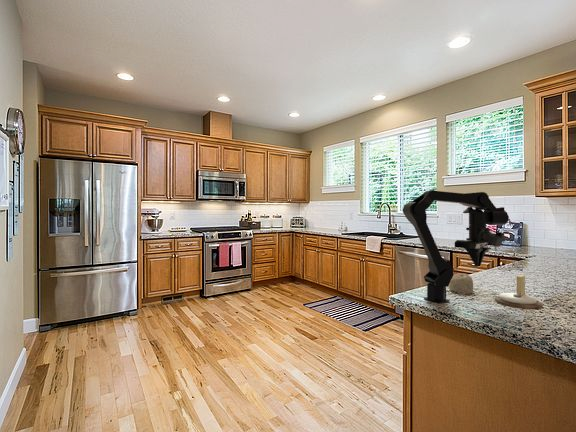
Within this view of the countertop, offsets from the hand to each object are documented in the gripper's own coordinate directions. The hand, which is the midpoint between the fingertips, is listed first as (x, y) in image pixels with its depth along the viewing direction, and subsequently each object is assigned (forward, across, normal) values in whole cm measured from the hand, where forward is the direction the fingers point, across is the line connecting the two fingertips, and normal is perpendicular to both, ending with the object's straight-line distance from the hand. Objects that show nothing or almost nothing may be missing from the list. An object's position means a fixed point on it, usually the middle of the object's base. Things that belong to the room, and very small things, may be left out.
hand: (477, 265), depth 117 cm
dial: (+12, +9, -9) cm, 18 cm away
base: (+13, +9, -9) cm, 18 cm away
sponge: (+13, +7, +12) cm, 19 cm away
